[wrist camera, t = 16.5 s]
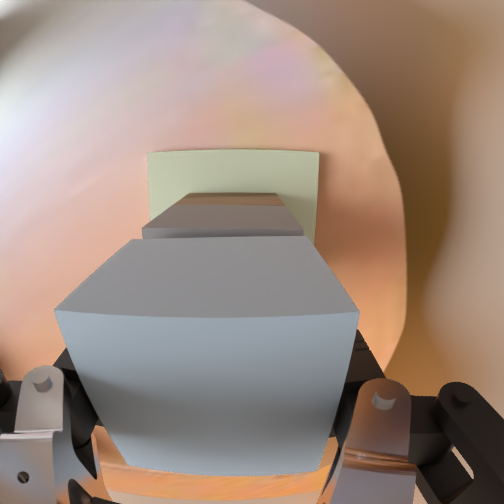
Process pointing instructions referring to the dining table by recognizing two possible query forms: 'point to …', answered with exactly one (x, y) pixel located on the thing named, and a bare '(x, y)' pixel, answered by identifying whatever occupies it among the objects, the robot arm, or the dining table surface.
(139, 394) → the blue block
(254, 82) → the dining table surface
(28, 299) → the dining table surface
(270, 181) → the plate
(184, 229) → the grey block
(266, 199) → the walnut block
